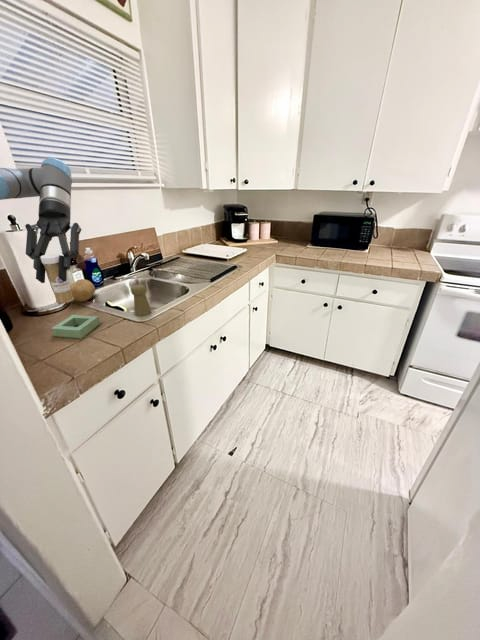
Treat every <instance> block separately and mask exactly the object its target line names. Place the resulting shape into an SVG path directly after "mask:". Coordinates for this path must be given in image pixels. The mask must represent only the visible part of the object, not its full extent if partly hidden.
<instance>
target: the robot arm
mask: <svg viewBox="0 0 480 640" xmlns="http://www.w3.org/2000/svg"><path fill="white" fill-rule="evenodd" d="M72 185H73V179H72V170H71V168H70V167H69V166H68V165H67V164H66V163H65V162H64V161H63V160H60V159H58V158H56V157H47V158H45V159H44V160H43V161H42V163H41V165H40V167H29V168H7V167H0V201H2V200H12V199H15V200H16V199H23V198H36V197H39V198H38V199H39V200H38V203H39V204H38V213H37V214H38V220H37V221H36V223H34V224H30V223H26V224H25V225H24V227H25V229H26V242H25V243H26V244H25V255H26V256H27V257H29V258H30V259H31V260H33V263H32V264H33V265H32V268H33V269H34V270H35V280H37V281H38V282H40V283H41V284H45V283H46V270H45V267H44V265H43V263H42V261H41V258H40V257H41V256H42V255H46V253H47V249H48V247H49V245H50V242H51V241H52V240H53V238H56V237H57V238H58V242H59V245H60V249H61V252H60V253H61V254H59V274H58V277H59V278H60V279H61V280H62V281H63V282H65V281H66V278H67V279H68V276H67V275H68V273H67V272H68V270H70V269H71V260H72V259H73V258H78V257H79V253H80V252H79V249H80V234H81V232H82V228H81V226H80V225H79V223H78V222H74V223H72V222H71V214H72V212H71V209H72V208H71V207H72ZM39 230H40V231H39ZM69 230H70V239H69V243H68V238H67V232H69ZM38 234H39V237H38Z"/></svg>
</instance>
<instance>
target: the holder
mask: <svg viewBox="0 0 480 640" xmlns="http://www.w3.org/2000/svg"><path fill="white" fill-rule="evenodd" d="M100 324H101V322H100V318H99V316H97V315H96V316H95V315H81V314H71V315H70V316H68V317H67V318H65V319H64V320H62V321H60V322H59V323H57V324H56V325H54V326H53V327H51V332H52V334H53V336H54V337H58V338H59V337H60V338H73V339H83V338H84V337H85V336H87V335H88V334H89V333H90V332H92V331H93V330H95V328H97V327H98V326H99V325H100Z"/></svg>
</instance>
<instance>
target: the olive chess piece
mask: <svg viewBox="0 0 480 640" xmlns="http://www.w3.org/2000/svg"><path fill="white" fill-rule="evenodd" d="M130 291H131V294H132V295H133V304H134V305H133V306H134V315H135V316H138V317H142V316H147V315H149V314H150V313H152V309H151V307H150V303H149V301H148V298H147V295H146V294H147V288H146V286H145V285H143V284H136V285H133V286H132V287H131V289H130Z"/></svg>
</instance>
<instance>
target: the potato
mask: <svg viewBox="0 0 480 640" xmlns="http://www.w3.org/2000/svg"><path fill="white" fill-rule="evenodd" d="M69 285H70V288H71V292H72V295H73V297H74V300H73V301H76V302H82V303H84V302H86V301H88V300H90V299H92V298H93V296H94V294H95V293H96V287H95V285H94V284H93V282H91V281H90V280H89V279H84V278H80V279H78V280H76V281H74V282H73V283H71V284H69Z"/></svg>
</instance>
